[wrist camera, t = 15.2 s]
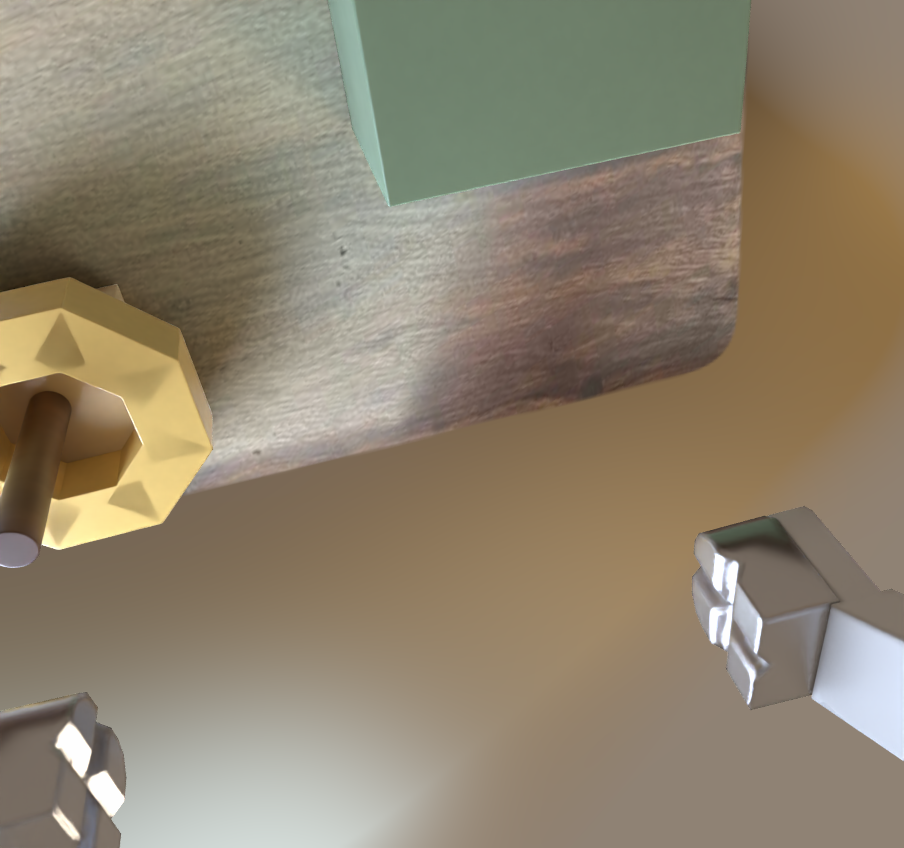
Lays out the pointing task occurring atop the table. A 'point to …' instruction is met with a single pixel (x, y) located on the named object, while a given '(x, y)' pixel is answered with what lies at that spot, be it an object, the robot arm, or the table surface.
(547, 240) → the table surface
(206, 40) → the table surface
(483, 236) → the table surface
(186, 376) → the brass ring
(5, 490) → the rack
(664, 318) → the table surface
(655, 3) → the plinth
